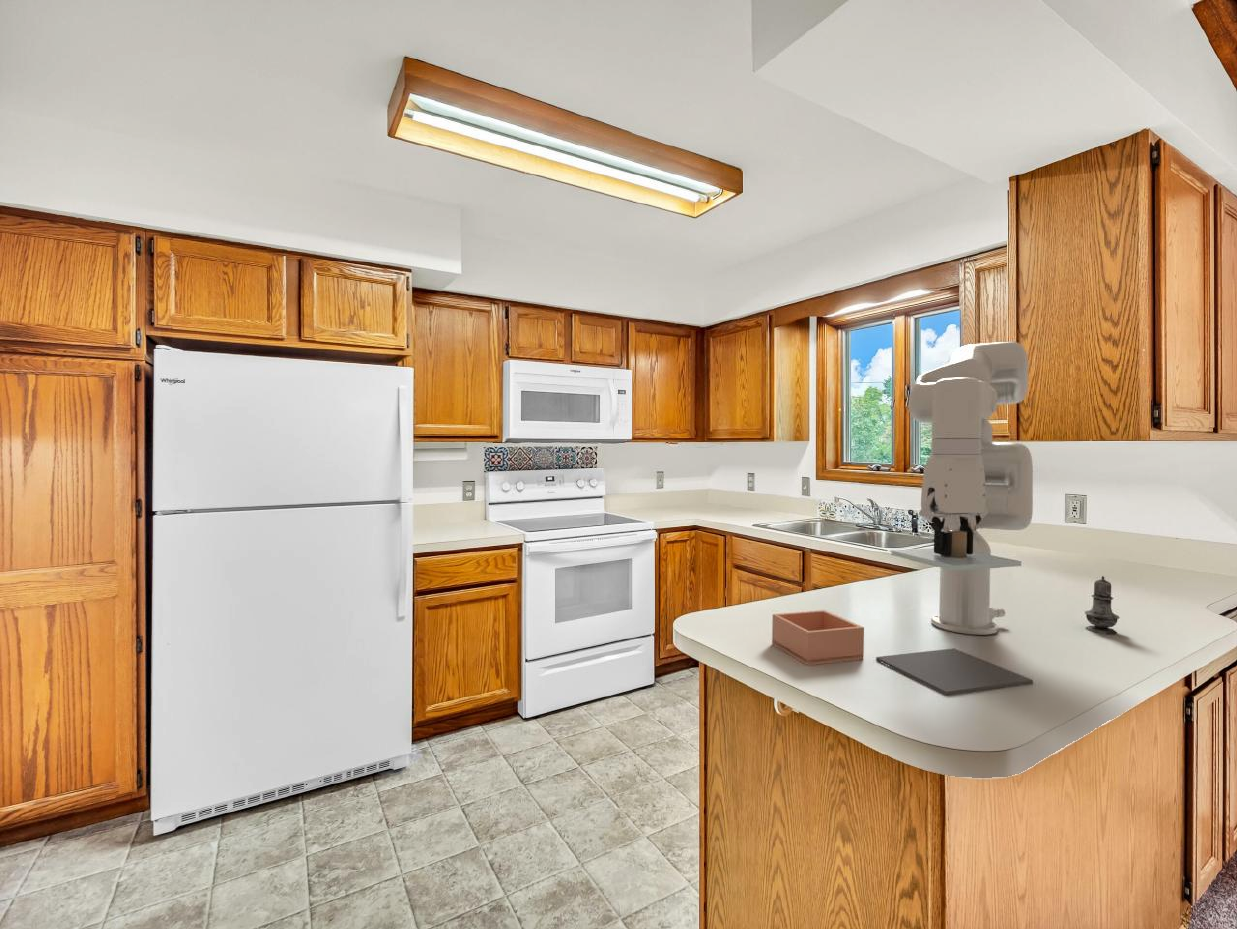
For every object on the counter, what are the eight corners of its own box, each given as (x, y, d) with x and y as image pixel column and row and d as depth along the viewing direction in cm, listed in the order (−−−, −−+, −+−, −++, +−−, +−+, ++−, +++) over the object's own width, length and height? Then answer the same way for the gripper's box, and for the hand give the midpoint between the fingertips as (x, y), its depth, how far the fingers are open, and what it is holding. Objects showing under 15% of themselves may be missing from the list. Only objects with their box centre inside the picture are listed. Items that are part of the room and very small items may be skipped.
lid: (952, 554, 112) (953, 524, 111) (1021, 569, 98) (1022, 535, 98) (891, 558, 108) (891, 526, 108) (954, 574, 94) (955, 538, 94)
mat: (953, 651, 114) (954, 648, 114) (1032, 683, 98) (1032, 680, 98) (876, 660, 109) (876, 657, 109) (946, 695, 93) (946, 691, 93)
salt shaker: (1115, 636, 123) (1117, 580, 123) (1080, 630, 128) (1082, 575, 127) (1121, 631, 127) (1123, 576, 127) (1087, 625, 131) (1089, 571, 131)
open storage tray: (823, 638, 121) (824, 610, 121) (863, 659, 109) (864, 627, 109) (772, 644, 117) (772, 614, 117) (807, 665, 106) (807, 632, 106)
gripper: (975, 449, 108) (972, 548, 109) (900, 449, 104) (898, 552, 104) (1012, 449, 101) (1009, 555, 102) (933, 449, 96) (931, 560, 97)
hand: (953, 552), depth 103 cm, fingers closed on lid, 4 cm apart
